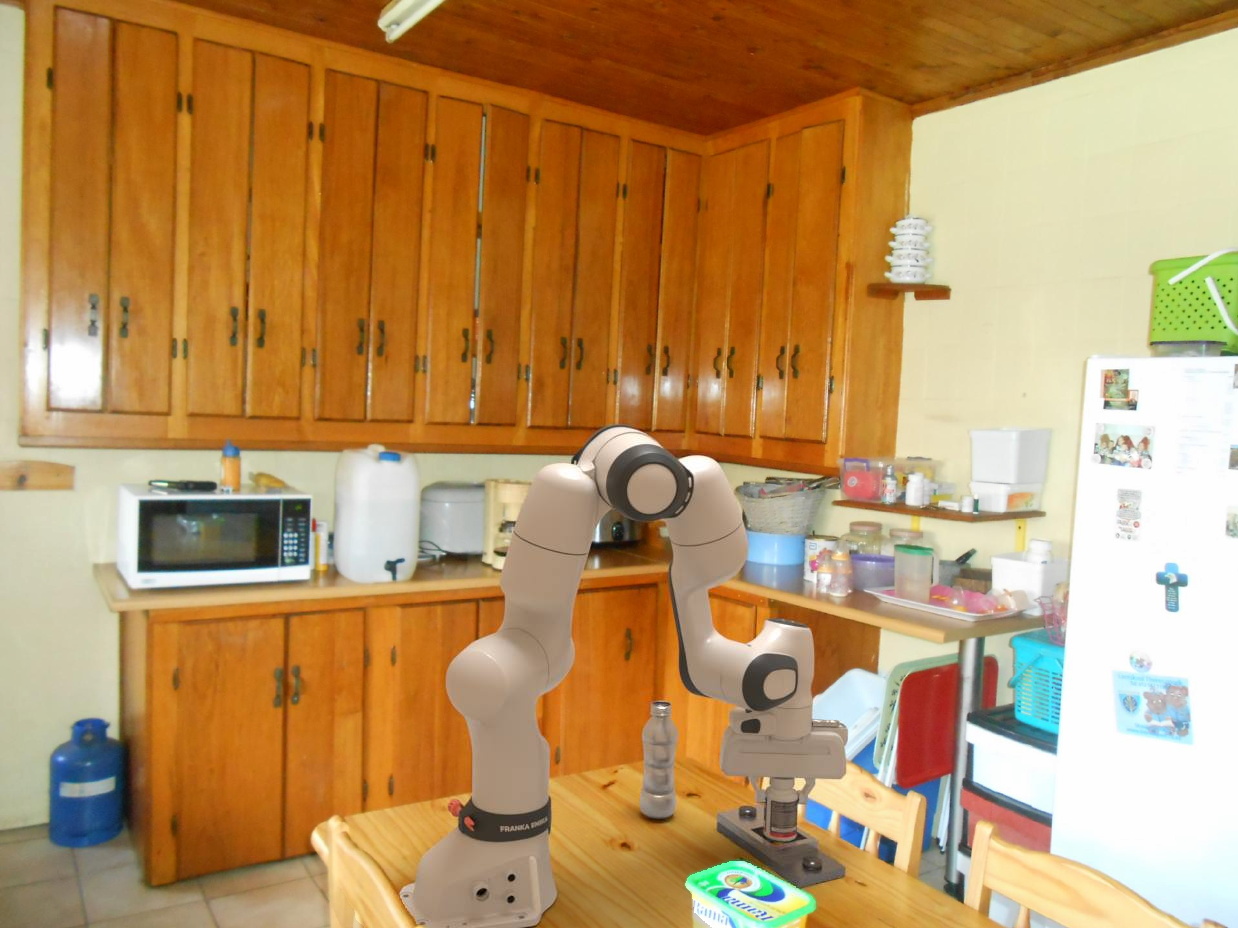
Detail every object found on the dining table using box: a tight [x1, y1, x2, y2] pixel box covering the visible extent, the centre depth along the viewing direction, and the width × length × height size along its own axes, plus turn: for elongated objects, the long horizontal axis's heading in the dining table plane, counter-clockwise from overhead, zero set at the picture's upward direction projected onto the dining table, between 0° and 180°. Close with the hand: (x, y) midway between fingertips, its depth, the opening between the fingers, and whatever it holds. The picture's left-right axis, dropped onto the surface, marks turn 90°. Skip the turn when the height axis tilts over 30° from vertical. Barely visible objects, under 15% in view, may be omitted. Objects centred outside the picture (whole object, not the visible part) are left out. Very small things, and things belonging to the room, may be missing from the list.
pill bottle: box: [763, 777, 799, 843], centre depth 152 cm, size 5×5×10 cm
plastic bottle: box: [639, 700, 679, 820], centre depth 164 cm, size 6×7×20 cm
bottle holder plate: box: [716, 803, 846, 889], centre depth 152 cm, size 9×22×4 cm, turn 28°
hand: (780, 802), depth 152 cm, fingers closed on pill bottle, 5 cm apart
